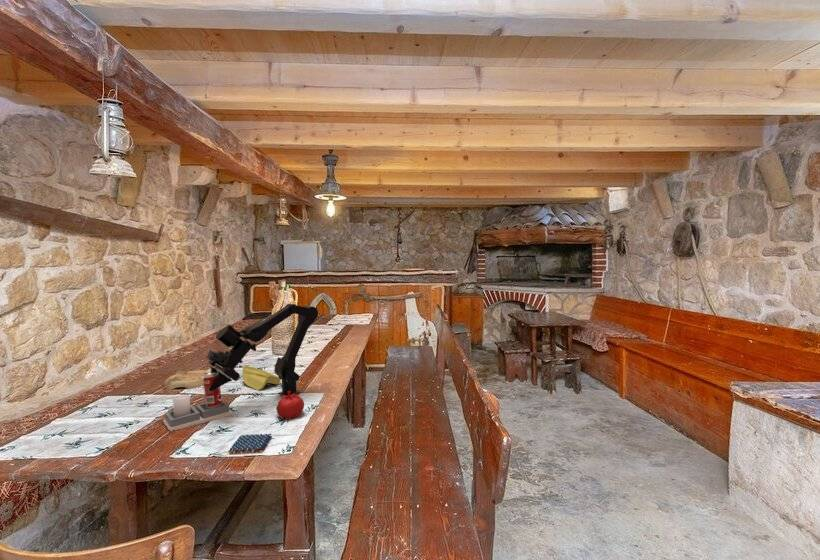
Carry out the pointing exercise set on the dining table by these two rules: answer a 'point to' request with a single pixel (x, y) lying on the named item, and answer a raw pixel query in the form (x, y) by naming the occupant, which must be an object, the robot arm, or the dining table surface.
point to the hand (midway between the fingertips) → (207, 388)
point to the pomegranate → (290, 406)
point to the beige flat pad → (186, 379)
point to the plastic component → (258, 377)
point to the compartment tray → (192, 413)
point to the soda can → (212, 396)
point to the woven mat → (250, 443)
